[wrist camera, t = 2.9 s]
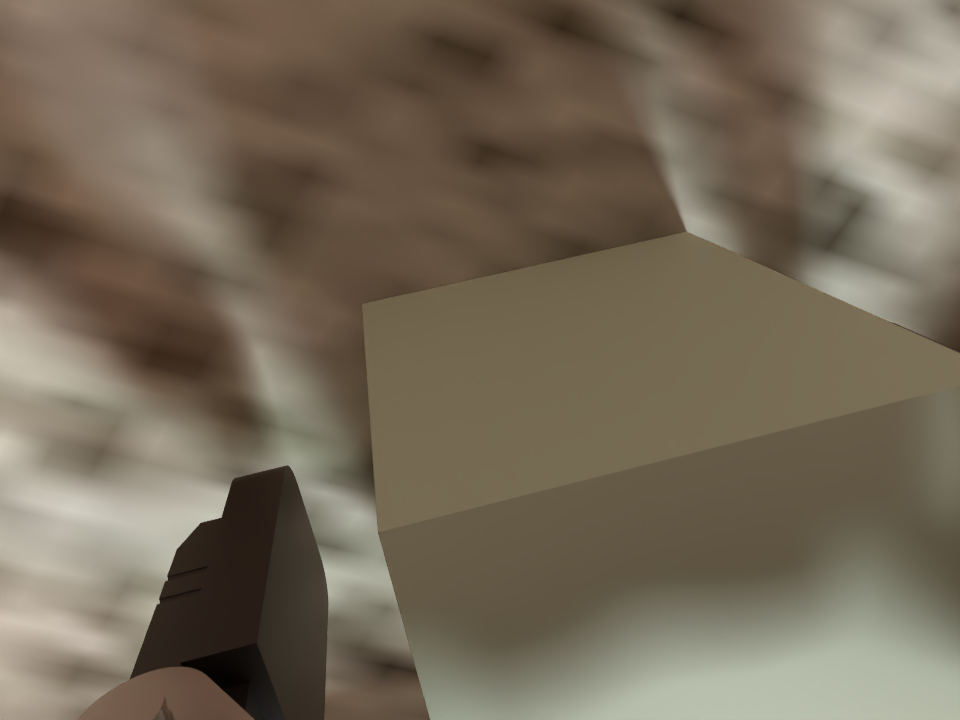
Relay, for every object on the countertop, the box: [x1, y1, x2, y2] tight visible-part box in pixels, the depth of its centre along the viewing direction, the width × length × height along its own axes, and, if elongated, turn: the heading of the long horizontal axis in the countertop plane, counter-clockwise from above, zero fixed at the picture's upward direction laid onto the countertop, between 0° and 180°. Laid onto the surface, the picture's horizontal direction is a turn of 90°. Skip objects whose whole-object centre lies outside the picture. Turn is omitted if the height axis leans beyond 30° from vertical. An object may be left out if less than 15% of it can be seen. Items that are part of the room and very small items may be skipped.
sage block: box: [362, 232, 960, 720], centre depth 9 cm, size 5×5×6 cm
